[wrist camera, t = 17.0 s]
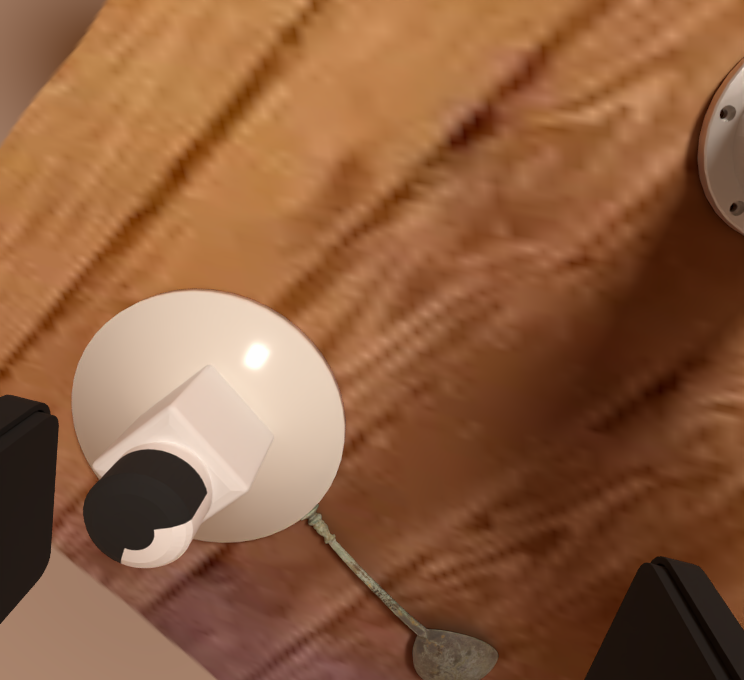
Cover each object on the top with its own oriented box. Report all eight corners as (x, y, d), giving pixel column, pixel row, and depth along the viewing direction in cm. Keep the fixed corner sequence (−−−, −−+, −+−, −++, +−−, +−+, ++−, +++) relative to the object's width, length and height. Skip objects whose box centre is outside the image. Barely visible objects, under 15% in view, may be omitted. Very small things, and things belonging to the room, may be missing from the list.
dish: (374, 328, 40) (372, 333, 39) (315, 558, 46) (313, 568, 45) (90, 257, 39) (81, 260, 38) (72, 498, 46) (63, 507, 45)
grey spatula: (448, 686, 51) (509, 648, 50) (453, 721, 48) (518, 683, 46) (278, 525, 46) (340, 478, 44) (271, 553, 43) (338, 504, 41)
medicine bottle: (140, 415, 42) (37, 516, 30) (211, 361, 40) (130, 446, 29) (206, 485, 43) (132, 606, 32) (277, 436, 42) (225, 545, 30)
